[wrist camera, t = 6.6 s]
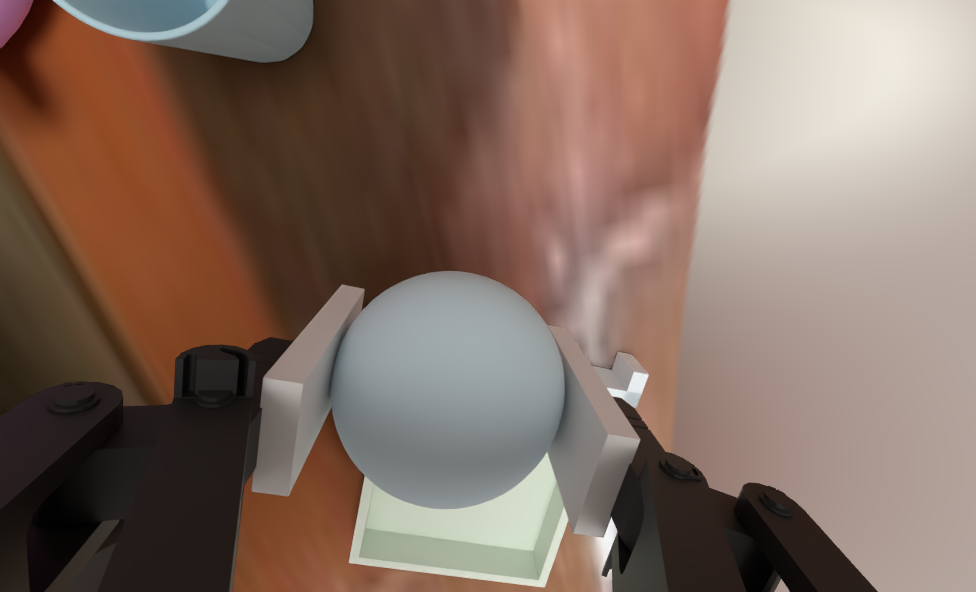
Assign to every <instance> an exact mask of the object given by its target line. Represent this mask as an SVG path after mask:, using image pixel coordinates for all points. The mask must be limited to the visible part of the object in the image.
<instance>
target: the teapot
mask: <svg viewBox="0 0 976 592" xmlns="http://www.w3.org/2000/svg"><path fill="white" fill-rule="evenodd" d="M32 3H33V0H0V48H1V47H3V46H4V45H5V43H6V42H7V41H8V40H9V39H10V38H11V37H12V36H13V34H14V33H15V32H16V31H17V30H18V29H19V27H20V26H21V24H22V22H23V21H24V19H25V17H26V16H27V14H28V12H29V10H30V8H31V5H32Z"/></svg>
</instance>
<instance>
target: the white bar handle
mask: <svg viewBox="0 0 976 592" xmlns="http://www.w3.org/2000/svg"><path fill="white" fill-rule="evenodd" d="M592 367H593V368H594V370H595V371H596V373H597V374H598V376H599V377H600V379H601V380H602V382H603V383H604V385H605V386H606V388H607V389H608V391H609V392H610V394H611V395H612V396H613V397H619V398H622V399H623V400H625V401H626V402H627V403H628V404H630V405H631V406H632V407H636V408H637V405H638V402H639V400H640V397H641V394H642V392H643V389H644V386H645V383H646V381H647V378H648V375H649V374H648V373H647V372H646V371H645V370H644V368H643V367H642V366H641V365H640V364H639V363H638V361H637V360H636V359H635V358H634V357H633V356H632V354H627V353H622V352H618V353H617V356H616V359H615V361H614V364H613V367H612V370H611V369H606V368H601V367H595V366H592Z"/></svg>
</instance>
